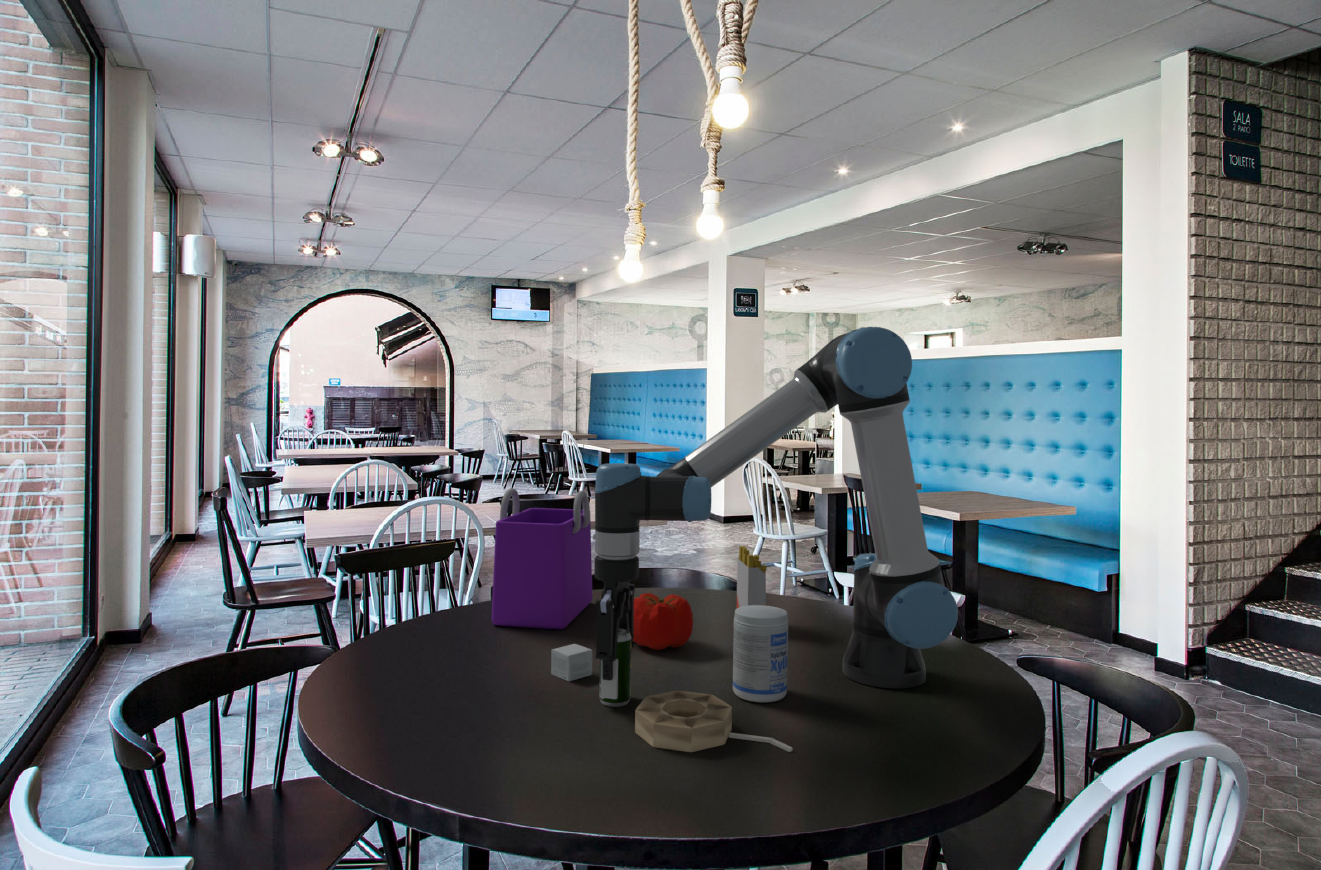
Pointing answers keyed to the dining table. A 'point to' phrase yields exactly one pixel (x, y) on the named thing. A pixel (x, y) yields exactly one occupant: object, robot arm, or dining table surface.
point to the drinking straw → (761, 740)
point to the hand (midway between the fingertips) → (615, 690)
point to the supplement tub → (760, 653)
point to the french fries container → (750, 579)
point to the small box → (571, 662)
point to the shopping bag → (541, 564)
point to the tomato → (662, 621)
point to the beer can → (621, 670)
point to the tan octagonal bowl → (683, 721)
